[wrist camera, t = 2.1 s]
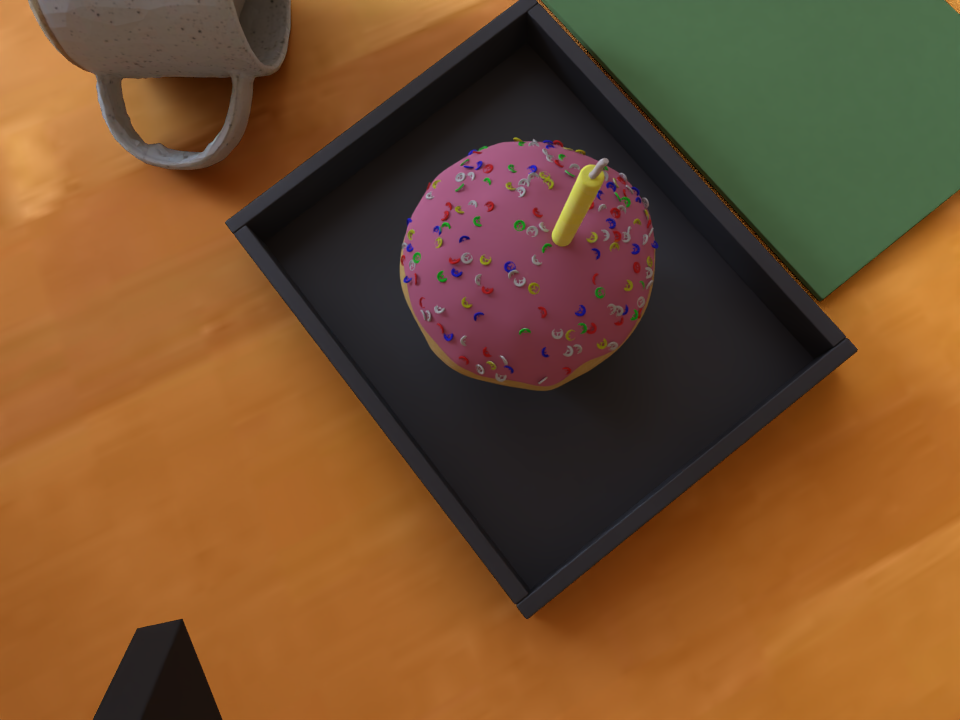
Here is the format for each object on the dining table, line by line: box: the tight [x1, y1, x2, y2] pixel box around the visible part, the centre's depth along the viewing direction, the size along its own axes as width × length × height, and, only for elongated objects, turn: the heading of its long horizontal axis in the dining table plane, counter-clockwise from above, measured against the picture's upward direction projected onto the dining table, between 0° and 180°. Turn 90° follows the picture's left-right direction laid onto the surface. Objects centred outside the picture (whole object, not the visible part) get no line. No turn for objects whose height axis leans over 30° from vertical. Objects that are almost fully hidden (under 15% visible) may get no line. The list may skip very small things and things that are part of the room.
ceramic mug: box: [28, 0, 291, 170], centre depth 32 cm, size 11×8×8 cm
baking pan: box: [225, 0, 858, 619], centre depth 32 cm, size 18×15×2 cm
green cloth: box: [541, 0, 960, 301], centre depth 34 cm, size 20×12×1 cm, turn 38°
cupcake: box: [400, 137, 658, 391], centre depth 27 cm, size 9×8×12 cm
